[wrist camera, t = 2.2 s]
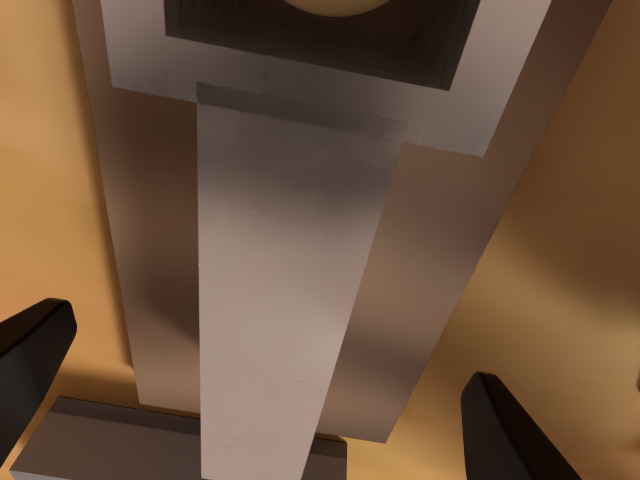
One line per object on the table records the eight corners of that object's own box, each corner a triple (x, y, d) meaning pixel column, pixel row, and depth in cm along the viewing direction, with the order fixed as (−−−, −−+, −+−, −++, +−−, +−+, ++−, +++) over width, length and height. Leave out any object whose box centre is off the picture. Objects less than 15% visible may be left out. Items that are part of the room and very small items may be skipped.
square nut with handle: (338, 387, 16) (334, 498, 13) (202, 364, 16) (162, 471, 12) (559, -285, 6) (799, -570, 3) (198, -369, 6) (-3, -782, 3)
